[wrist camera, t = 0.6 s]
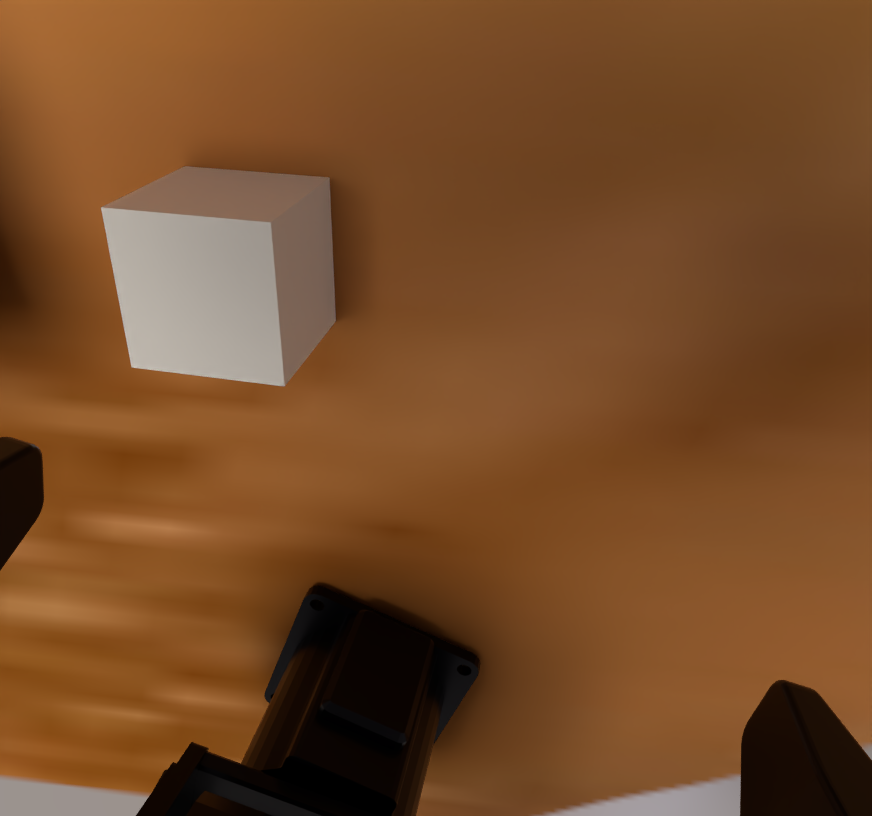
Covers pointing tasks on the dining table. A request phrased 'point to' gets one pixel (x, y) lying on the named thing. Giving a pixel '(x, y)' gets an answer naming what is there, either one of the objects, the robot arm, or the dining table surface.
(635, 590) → the dining table surface
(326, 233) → the ceramic cube
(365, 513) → the dining table surface
